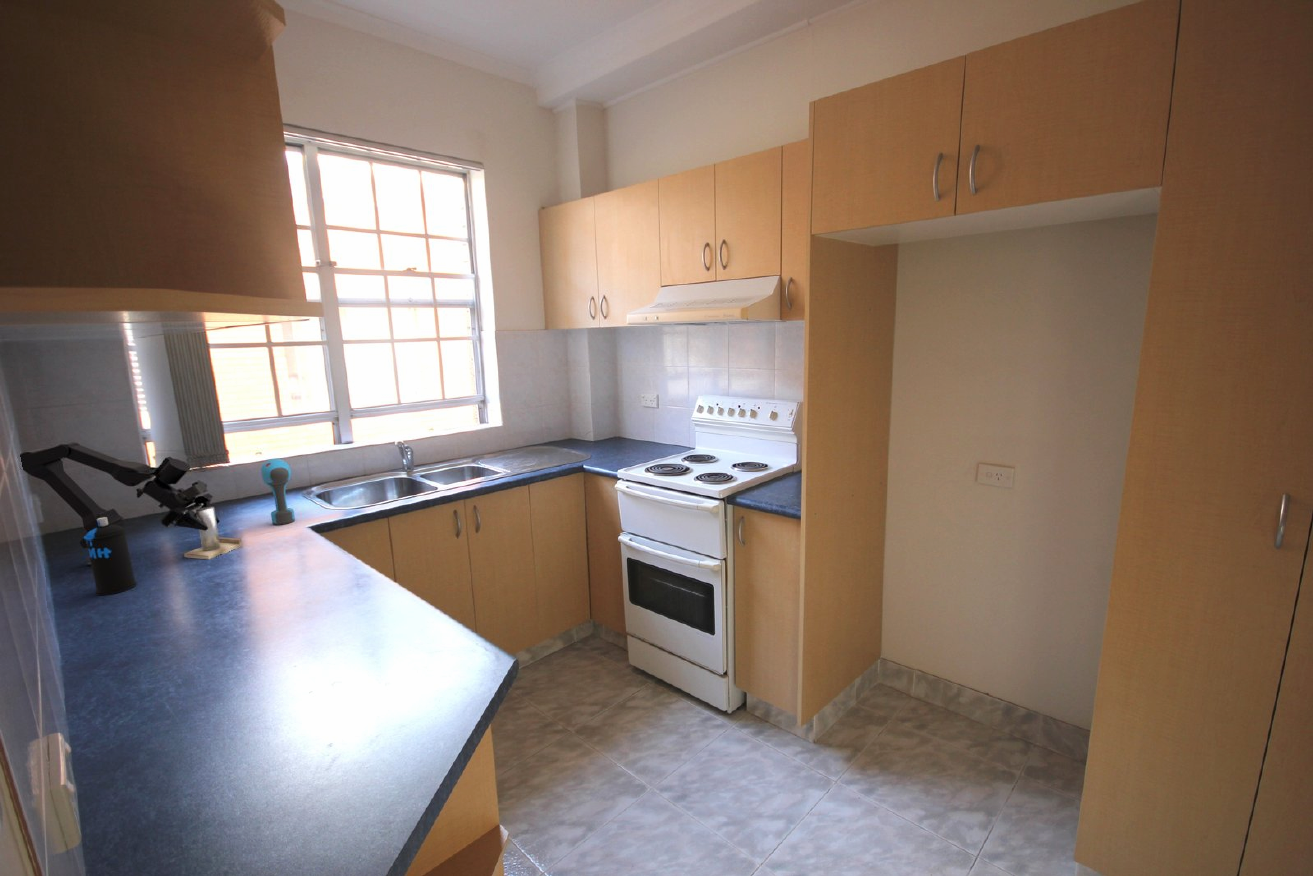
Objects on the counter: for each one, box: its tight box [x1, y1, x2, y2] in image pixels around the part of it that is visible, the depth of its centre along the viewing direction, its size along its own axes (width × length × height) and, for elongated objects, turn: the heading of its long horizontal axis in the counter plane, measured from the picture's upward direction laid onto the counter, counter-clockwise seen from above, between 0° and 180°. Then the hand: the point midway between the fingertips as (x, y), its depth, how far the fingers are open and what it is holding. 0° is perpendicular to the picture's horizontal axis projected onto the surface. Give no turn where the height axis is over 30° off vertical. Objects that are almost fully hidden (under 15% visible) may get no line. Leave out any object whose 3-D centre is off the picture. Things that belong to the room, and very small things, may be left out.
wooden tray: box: [183, 536, 244, 560], centre depth 184 cm, size 11×10×3 cm
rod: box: [196, 506, 220, 551], centre depth 182 cm, size 4×4×13 cm
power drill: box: [260, 458, 296, 526], centre depth 214 cm, size 28×9×23 cm, turn 40°
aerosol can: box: [83, 517, 138, 596], centre depth 156 cm, size 8×8×20 cm
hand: (213, 526), depth 182 cm, fingers open, 6 cm apart
